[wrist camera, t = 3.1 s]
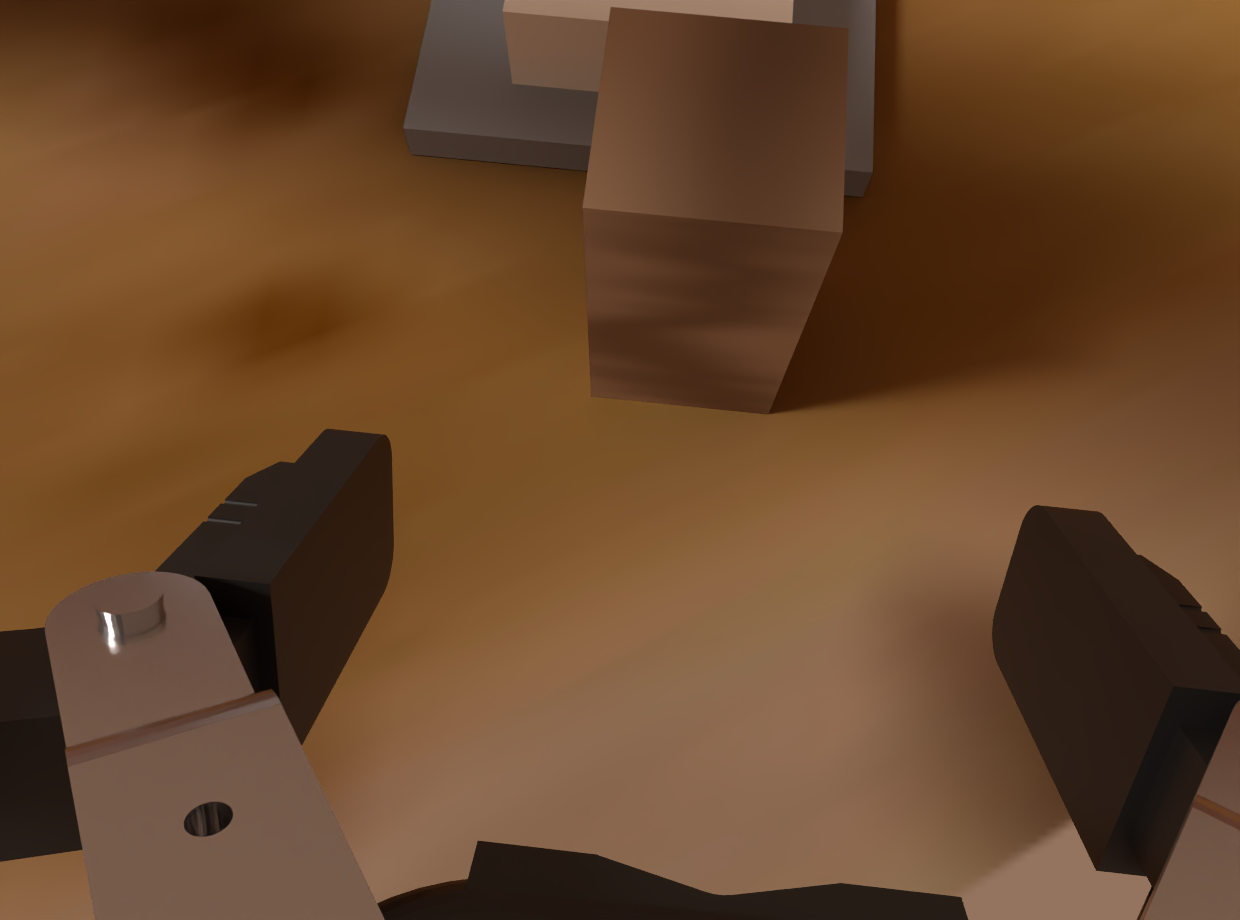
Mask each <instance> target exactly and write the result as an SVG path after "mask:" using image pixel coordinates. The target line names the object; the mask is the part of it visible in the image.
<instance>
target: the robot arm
mask: <svg viewBox="0 0 1240 920" xmlns="http://www.w3.org/2000/svg"><path fill="white" fill-rule="evenodd" d="M393 549H394V534H393V486H392V452H391V445H390V441H389V439H388V437H387V436H386V435H382V434H372V433H363V432H353V431H344V430H335V429H326V430H324V431H323V432H322V433H321V434H320V435H319V437H318V438H317V439H316V440H315V441H314V442H313V443H312V444H311V445H310V447H309V448H308V449H307V450H306V451H305V452H304V453H303V454H302V455H301V457H300V458H299V459H298V460H297V461H296V462H295V463H289V462H278V463H276V464H274V465H272V466H270V467H268V468H266V469H264V470H261V471H259V472H257V473H255V474H253V475H251V476H249V477H247V478H245V479H244V480H243V481H242V482H241V483H240V485H239V486H238V487H237V488H236V489H235V490H234V491H233V492H232V493H231V494H230V495H229V496H228V497H227V498H226V499H225V504H220V505H219V506H218V507H217V508H216V509H215V510H214V511H213V512H212V513H211V514H210V515H209V516H208V521H207V522H203V523H202V524H201V525H200V526H199V527H198V528H197V529H196V530H195V531H194V532H193V533H192V534H191V535H190V536H189V537H188V538H187V539H186V540H185V541H184V542H183V543H182V544H181V545H180V546H179V547H178V548H177V549H176V550H175V551H174V552H173V553H172V554H171V555H170V556H169V557H168V558H167V559H166V560H165V562H164V563H163V564H162V565H161V566H160V567H159V568H158V569H157V570H156V571H155V572H138V573H130V574H124V575H118V576H114V577H110V578H106V579H103V580H100V581H97V582H95V583H92V584H90V585H87V586H85V587H83V588H81V589H79V590H77V591H75V592H73V593H72V594H70V595H69V596H67V597H66V598H64V599H63V600H62V601H60V602H59V603H58V604H57V605H56V606H55V607H54V608H53V609H52V611H51V612H50V614H49V615H48V617H47V620H46V623H45V627H44V628H36V629H26V630H14V631H2V632H0V862H1V861H8V860H15V859H22V858H28V857H35V856H42V855H49V854H56V853H63V852H70V851H77V850H83V854H84V860H85V865H86V871H87V876H88V882H89V887H90V893H91V898H92V904H93V909H94V915H95V920H968V918H967V915H966V911H965V908H964V905H963V902H962V898H961V897H955V896H946V895H938V894H929V893H921V892H912V891H904V890H895V889H887V888H878V887H869V886H861V885H852V884H844V883H838V884H829V885H820V886H811V887H802V888H793V889H783V890H774V891H765V892H756V893H747V894H737V895H716V894H711V893H707V892H704V891H701V890H698V889H695V888H692V887H689V886H686V885H684V884H681V883H678V882H675V881H672V880H669V879H666V878H663V877H660V876H657V875H654V874H651V873H648V872H645V871H642V870H640V869H637V868H634V867H631V866H628V865H625V864H622V863H619V862H616V861H613V860H610V859H607V858H604V857H601V856H599V855H596V854H587V853H579V852H570V851H562V850H553V849H545V848H536V847H528V846H519V845H511V844H502V843H493V842H485V841H478V842H477V846H476V850H475V854H474V858H473V861H472V865H471V869H470V873H469V877H468V879H465V880H457V881H449V882H445V883H440V884H436V885H431V886H426V887H422V888H418V889H415V890H412V891H409V892H406V893H403V894H400V895H397V896H394V897H391V898H388V899H386V900H384V901H382V902H380V903H376V900H375V898H374V896H373V894H372V892H371V890H370V888H369V886H368V884H367V882H366V880H365V877H364V875H363V873H362V871H361V869H360V867H359V865H358V863H357V861H356V859H355V857H354V855H353V852H352V850H351V848H350V846H349V844H348V842H347V840H346V838H345V836H344V834H343V832H342V829H341V827H340V825H339V823H338V821H337V819H336V817H335V815H334V813H333V811H332V809H331V807H330V804H329V802H328V800H327V798H326V796H325V794H324V792H323V790H322V788H321V786H320V784H319V782H318V779H317V777H316V775H315V773H314V771H313V769H312V767H311V765H310V763H309V761H308V759H307V756H306V754H305V752H304V750H303V748H302V744H303V742H304V740H305V739H306V737H307V735H308V733H309V731H310V729H311V727H312V726H313V724H314V722H315V720H316V718H317V716H318V714H319V713H320V711H321V709H322V707H323V705H324V703H325V701H326V700H327V698H328V696H329V694H330V692H331V690H332V688H333V687H334V685H335V683H336V681H337V679H338V677H339V675H340V673H341V672H342V670H343V668H344V666H345V664H346V662H347V660H348V659H349V657H350V655H351V653H352V651H353V649H354V647H355V646H356V644H357V642H358V640H359V638H360V636H361V634H362V633H363V631H364V629H365V627H366V625H367V623H368V621H369V620H370V618H371V616H372V614H373V612H374V610H375V608H376V607H377V605H378V603H379V601H380V599H381V597H382V595H383V593H384V591H385V589H386V586H387V583H388V580H389V576H390V572H391V567H392V560H393ZM1201 608H1202V606H1201V605H1200V604H1199V603H1198V602H1197V601H1196V600H1195V598H1194V597H1193V596H1192V595H1191V594H1190V593H1189V592H1188V590H1187V589H1186V588H1185V587H1184V586H1183V585H1182V583H1181V582H1180V581H1179V580H1178V579H1176V578H1175V577H1173V576H1172V575H1170V574H1169V573H1167V572H1166V571H1164V570H1163V569H1161V568H1160V567H1158V566H1157V565H1155V564H1154V563H1152V562H1151V561H1149V560H1148V559H1146V558H1145V557H1143V556H1142V555H1137V554H1136V553H1135V552H1134V551H1133V550H1132V548H1131V547H1130V546H1129V545H1128V544H1127V542H1126V541H1125V540H1124V539H1123V538H1122V536H1121V535H1120V534H1119V533H1118V532H1117V530H1116V529H1115V528H1114V527H1113V526H1112V524H1111V523H1110V522H1109V521H1108V520H1107V518H1106V517H1105V516H1104V515H1103V514H1102V513H1100V512H1096V511H1087V510H1078V509H1068V508H1059V507H1049V506H1040V505H1036V506H1033V507H1032V508H1031V509H1030V510H1029V511H1028V512H1027V514H1026V515H1025V517H1024V520H1023V522H1022V525H1021V528H1020V531H1019V534H1018V537H1017V541H1016V544H1015V547H1014V551H1013V554H1012V557H1011V560H1010V564H1009V567H1008V570H1007V574H1006V577H1005V580H1004V583H1003V587H1002V590H1001V593H1000V597H999V600H998V603H997V606H996V610H995V614H994V619H993V629H992V641H993V649H994V654H995V658H996V661H997V663H998V666H999V668H1000V670H1001V672H1002V674H1003V676H1004V678H1005V680H1006V682H1007V684H1008V686H1009V689H1010V691H1011V693H1012V695H1013V697H1014V699H1015V701H1016V703H1017V705H1018V707H1019V710H1020V712H1021V714H1022V716H1023V718H1024V720H1025V722H1026V724H1027V726H1028V728H1029V731H1030V733H1031V735H1032V737H1033V739H1034V741H1035V743H1036V745H1037V747H1038V749H1039V752H1040V754H1041V756H1042V758H1043V760H1044V762H1045V764H1046V766H1047V768H1048V770H1049V773H1050V775H1051V777H1052V779H1053V781H1054V783H1055V785H1056V787H1057V789H1058V791H1059V794H1060V796H1061V798H1062V800H1063V802H1064V804H1065V806H1066V808H1067V810H1068V812H1069V815H1070V817H1071V819H1072V821H1073V823H1074V825H1075V827H1076V829H1077V831H1078V833H1079V835H1080V838H1081V840H1082V842H1083V844H1084V846H1085V848H1086V850H1087V852H1088V854H1089V857H1090V858H1091V861H1092V863H1093V865H1094V867H1095V869H1096V871H1104V872H1113V873H1122V874H1130V875H1139V876H1147V878H1148V880H1149V882H1150V883H1151V886H1152V887H1151V889H1150V891H1149V894H1148V896H1147V898H1146V900H1145V902H1144V904H1143V906H1142V909H1141V911H1140V913H1139V915H1138V918H1137V920H1240V650H1239V649H1238V648H1237V647H1236V645H1235V644H1234V643H1233V642H1232V641H1231V640H1230V639H1229V637H1228V636H1227V635H1224V634H1221V628H1220V627H1219V626H1218V625H1217V624H1216V623H1215V621H1214V620H1213V619H1212V618H1211V617H1210V616H1209V614H1208V613H1207V612H1202V611H1201Z"/></svg>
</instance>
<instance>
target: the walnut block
mask: <svg viewBox="0 0 1240 920" xmlns="http://www.w3.org/2000/svg"><path fill="white" fill-rule="evenodd" d="M848 40H849V28H840V27H829V26H818V25H806V24H795V23H784V22H773V21H762V20H751V19H740V18H729V17H718V16H707V15H696V14H685V13H674V12H662V11H651V10H640V9H629V8H618V7H611V8H610V15H609V23H608V30H607V37H606V44H605V51H604V58H603V65H602V72H601V79H600V87H599V94H598V101H597V108H596V115H595V122H594V129H593V136H592V143H591V150H590V158H589V165H588V172H587V179H586V186H585V193H584V200H583V207H582V209H583V230H584V252H585V274H586V295H587V317H588V338H589V360H590V381H591V396H592V397H602V398H612V399H622V400H632V401H641V402H651V403H661V404H671V405H681V406H691V407H701V408H710V409H720V410H730V411H740V412H750V413H760V414H769V411H770V409H771V406H772V404H773V402H774V399H775V397H776V394H777V392H778V389H779V387H780V385H781V382H782V380H783V377H784V375H785V372H786V370H787V367H788V365H789V363H790V360H791V358H792V355H793V353H794V350H795V348H796V346H797V343H798V341H799V338H800V336H801V333H802V331H803V328H804V326H805V324H806V321H807V319H808V316H809V314H810V311H811V309H812V307H813V304H814V302H815V299H816V297H817V294H818V292H819V290H820V287H821V285H822V282H823V280H824V277H825V275H826V272H827V270H828V268H829V265H830V263H831V260H832V258H833V255H834V253H835V251H836V248H837V246H838V243H839V241H840V238H841V236H842V233H843V209H844V175H845V141H846V108H847V74H848Z"/></svg>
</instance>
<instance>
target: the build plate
mask: <svg viewBox="0 0 1240 920" xmlns="http://www.w3.org/2000/svg"><path fill="white" fill-rule="evenodd" d="M611 7H618V8H629V9H640V10H651V11H662V12H674V13H685V14H696V15H707V16H718V17H729V18H740V19H751V20H762V21H773V22H784V23H795V24H806V25H818V26H829V27H840V28H849V40H848V74H847V108H846V141H845V175H844V195H845V196H856V197H863V195H864V193H865V190H866V188H867V186H868V183H869V181H870V178H871V176H872V174H873V142H874V83H875V24H876V0H432V1H431V6H430V10H429V15H428V19H427V23H426V28H425V32H424V37H423V41H422V46H421V50H420V55H419V59H418V64H417V68H416V72H415V77H414V81H413V86H412V90H411V95H410V99H409V104H408V108H407V112H406V117H405V121H404V126H403V130H404V133H405V137H406V140H407V143H408V146H409V150H410V153H411V154H414V155H424V156H435V157H445V158H456V159H467V160H477V161H488V162H498V163H509V164H519V165H530V166H540V167H551V168H561V169H572V170H582V171H588V165H589V158H590V150H591V143H592V136H593V129H594V122H595V115H596V108H597V101H598V94H599V87H600V79H601V72H602V65H603V58H604V51H605V44H606V37H607V30H608V23H609V15H610V8H611Z"/></svg>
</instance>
